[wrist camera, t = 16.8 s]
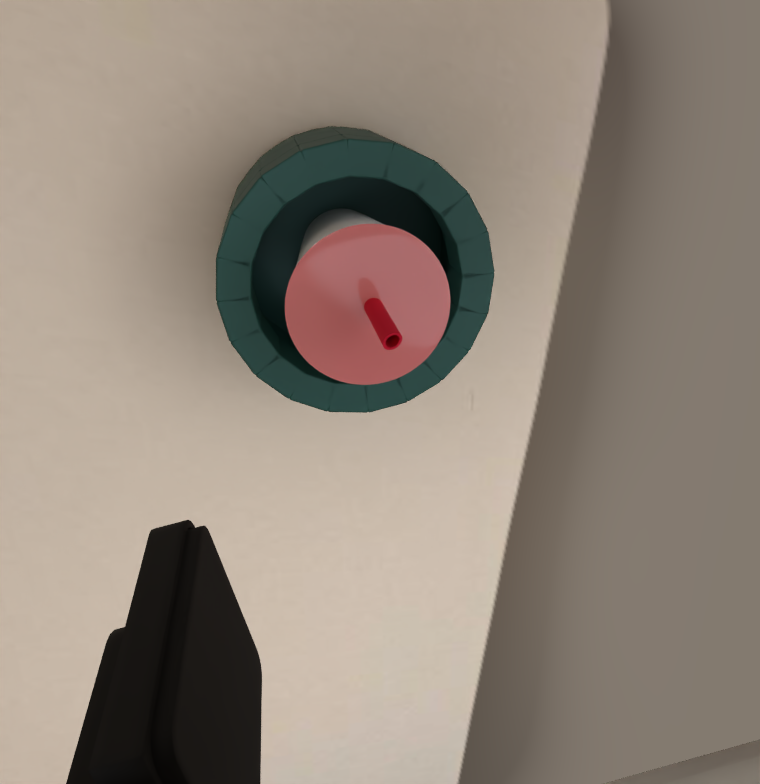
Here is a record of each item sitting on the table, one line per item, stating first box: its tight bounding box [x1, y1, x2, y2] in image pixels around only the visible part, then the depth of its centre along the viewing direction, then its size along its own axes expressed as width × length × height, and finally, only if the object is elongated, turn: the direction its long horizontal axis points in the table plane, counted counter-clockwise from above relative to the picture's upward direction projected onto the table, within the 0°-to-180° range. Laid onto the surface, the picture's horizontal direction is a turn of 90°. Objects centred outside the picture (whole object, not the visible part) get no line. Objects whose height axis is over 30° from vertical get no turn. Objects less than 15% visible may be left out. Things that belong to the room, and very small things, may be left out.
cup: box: [285, 208, 450, 385], centre depth 25 cm, size 5×5×12 cm
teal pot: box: [216, 126, 494, 412], centre depth 28 cm, size 10×10×7 cm
